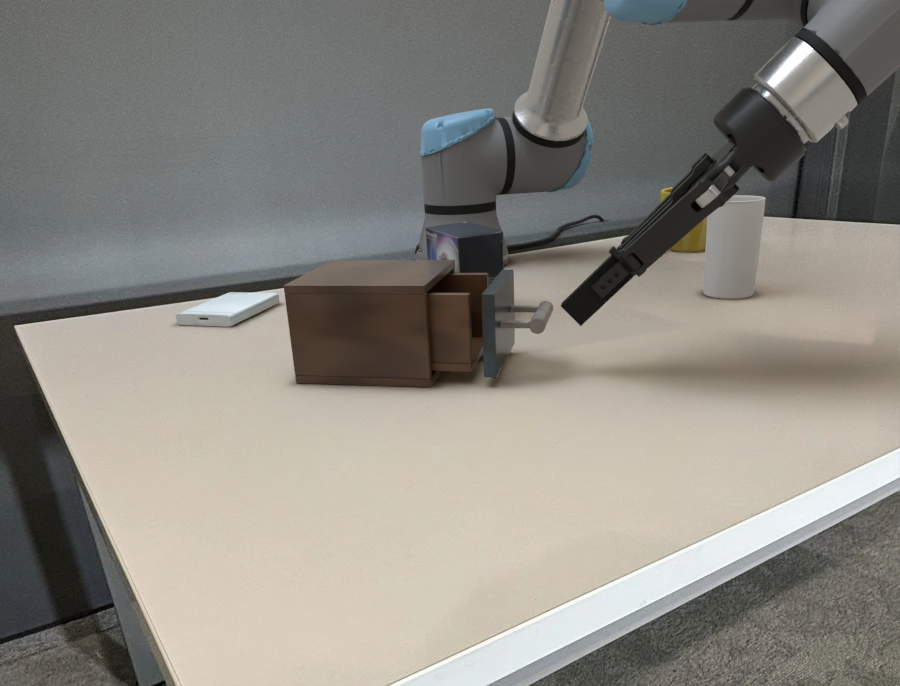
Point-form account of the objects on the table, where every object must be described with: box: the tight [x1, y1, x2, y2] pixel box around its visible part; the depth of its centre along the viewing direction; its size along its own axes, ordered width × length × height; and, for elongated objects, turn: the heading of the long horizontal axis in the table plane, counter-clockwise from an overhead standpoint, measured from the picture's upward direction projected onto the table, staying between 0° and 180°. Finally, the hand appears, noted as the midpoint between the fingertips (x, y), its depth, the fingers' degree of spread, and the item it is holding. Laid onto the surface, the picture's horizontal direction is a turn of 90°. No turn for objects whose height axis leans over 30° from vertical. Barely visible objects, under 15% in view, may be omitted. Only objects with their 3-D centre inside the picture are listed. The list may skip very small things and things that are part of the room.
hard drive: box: [175, 291, 281, 328], centre depth 106 cm, size 2×8×12 cm
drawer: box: [427, 268, 554, 379], centre depth 78 cm, size 17×11×8 cm
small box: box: [425, 221, 505, 285], centre depth 99 cm, size 11×6×10 cm, turn 23°
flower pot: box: [659, 186, 707, 253], centre depth 134 cm, size 10×10×10 cm
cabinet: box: [283, 259, 455, 388], centre depth 80 cm, size 14×13×10 cm
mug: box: [702, 194, 767, 300], centre depth 103 cm, size 10×7×12 cm, turn 149°
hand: (571, 314), depth 75 cm, fingers closed
